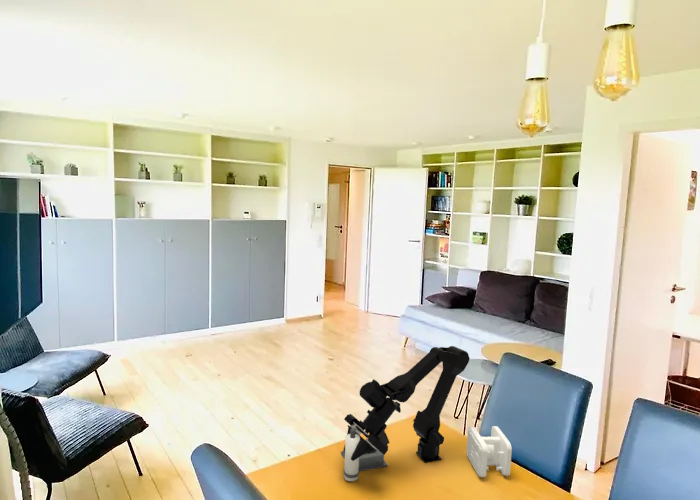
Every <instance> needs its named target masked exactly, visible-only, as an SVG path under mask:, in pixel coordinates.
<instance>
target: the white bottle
mask: <svg viewBox="0 0 700 500" xmlns="http://www.w3.org/2000/svg"><path fill="white" fill-rule="evenodd" d="M360 436H361V435H360ZM360 436H359V435H357V434H356V429H354V428H352V429H350V434H346V435H345V440H344V441H345V443H344V446H345V459H344V469H343V478H344V480H345V481H348V482H356V481H357V480H358V479H359V475H360V473H359V458H357V459H356V460H354V461H352V460H351V457H352V454H353V452H354V451H355V449H356V447H357V445H358V443H359V441H360Z"/></svg>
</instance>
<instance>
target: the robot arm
mask: <svg viewBox="0 0 700 500" xmlns="http://www.w3.org/2000/svg"><path fill="white" fill-rule="evenodd" d="M469 362H470V355H469V353H468V351H466V350H464V349H462V348H459V347H457V346H454V345H450V346H448V347H444V346H440V347H437V346H435V347H434V346H433V347H432V348H430V350H429V352H428V353H426V354H425V356H423V357H422V358H421V359H420V360H419V361H417V363H416V364H415V365H413V366H412V367H411V368H410V369H409V370H408V371H406V372H405V373H403V374H399V375H397V376H395V377H394V378H392V379H390V380H389V382H386V383H383V384H380V383H379V381H377V380H376V379H374V378H373V379H372V380H371V381H368V382H365V383H364V384H363V385H362V386H361V387H360V389H359V393H358V394H359V396H360V398H362V399H363V401H365V403H367V405H369V406H370V407H371V408H372V409H371V410H370V409H367V411H366V413H367V415H366V417H365V418H364V419H363V421H362V420H358V418H356V417H355V416H354V415H353V414H352V413H349V414H346V416H345V417H344V419H343V420H344V421H345V422H346V423H347V424H348V425H347V431H346V433H347V434H350V429H352V428H354V429H356V434H357V435H359V436H360V441H359V443H358V445H357V447H356V449H355V451H354V452H353V454H352V457H351V460H352V461H354V460H356V459H357V458H359V457H360V456H362V455H363V454H365V453H366V452H368V451H375V452H376V451H377V450H376V449H378V450H379V451H380V452H381V453H382V454H383V455H384V456H385V455H386V454H387V452H388V451H389V444H390V439H389V438H388V434H387V433H386V431H385V430H386V429H387V424H386V423H387V421H389V419H390V417H392V415H393V413H394V412H395V411H396V412H397V413H399V414H400V413H401V403H404V404H405V403H406V402H407V401H408V400H409V399H410V398H411V397H412V395H413V394H414V393H415V391H416V387H417V385H418V384H419V383H420V382H421V381H422V380H424V378H426V377H427V376H428V375H429V374H430V373H431V372H433V370H434V369H435V368H436V367H437V366H439V365H440V364H441V363H442V371H441V373H440V375H439V377H438V379H437V382H436V384H435V387H434V389H433V390H432V391H433V392H432V394H431V396H430V399H429V401H428V403H427V405H426V407H425V408H424V409H423V410H421V411H420V410H417V412H416V415H415V417H414V418H413V420H412V422H413V424H412V427H413V430H414V431H415V434H416V436H418V437H419V441H418V444H417V450H416V451H415V453H416V455H417V456H418V457H419V459H421V460H422V461H423V462H424V463H425V464H427V463H430V462H431V463H432V462H437V461H441V460H442V457H441V456H440V445H443V444H444V440H445V437H444V436H443V435H442V433H440V432H439V431H440V428H441V413H442V411H443V408H444V406H445V404H446V401H447V399H448V396H449V395H450V392H451V390H452V387H453V385H454V383H455V381H456V378H457V376H458V375H460V374H461V373H462V372H464V371H465V369H466V368H467V366H468V364H469ZM347 434H346V435H347ZM361 434H362V435H363V436H364V437H366V438H365V439H364V437H362V436H361ZM342 451H343V452H344V453H345V445H344V446H343V450H342Z"/></svg>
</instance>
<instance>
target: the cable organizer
mask: <svg viewBox="0 0 700 500" xmlns="http://www.w3.org/2000/svg"><path fill="white" fill-rule="evenodd" d="M466 438H467V439H466V455H467V458H468V460H469V462H470V463H471V465H472V467H473V469H474V471H475V472H476V474H477V476H478V477H479V478H486V477H487V472H489V468H490V467H489V466H495V467H496V468H495V469H496V472H499V471H500V472H501V474H502V476H508V477H509V476H510V475H511V464H512V453H513V452H512V451H513V448H512V445H511V442H510V441H509V439H508V438H507V437H506V435H505V434H504V432H503V431H502V430H501V429H500V427H499V426H497V425H496V426H495V425H493V426H491V432H490V436H489V435H488V436H482V435H480V433H479V432H478V430H477V428H476V427H475V426H468V427H467V437H466Z"/></svg>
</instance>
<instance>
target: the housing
mask: <svg viewBox="0 0 700 500" xmlns="http://www.w3.org/2000/svg"><path fill="white" fill-rule="evenodd" d="M376 450H377V451H376V452H375V451H368V452H366V453H365V454H363V455H362V456H360V457H359V472H360V473H361V472H364V471H371V470H376V469H381V468H387V467H388V466H389V465H388V463H387V462H386V461H385V455H383V454H382V453H381V452H380V451H379V450H378V449H376ZM340 454H341V457H343V459H344V460H345V453H344V452H343V450H342V451H340Z"/></svg>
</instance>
